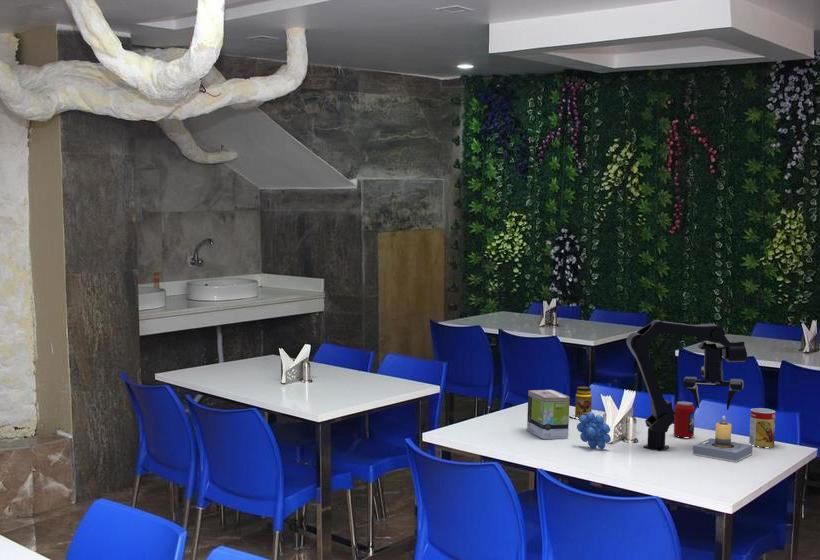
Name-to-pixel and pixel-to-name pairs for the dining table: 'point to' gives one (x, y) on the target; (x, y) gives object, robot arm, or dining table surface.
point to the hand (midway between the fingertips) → (713, 409)
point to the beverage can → (684, 419)
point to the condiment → (583, 401)
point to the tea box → (548, 414)
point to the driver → (723, 434)
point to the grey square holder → (722, 450)
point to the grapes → (594, 430)
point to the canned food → (762, 427)
